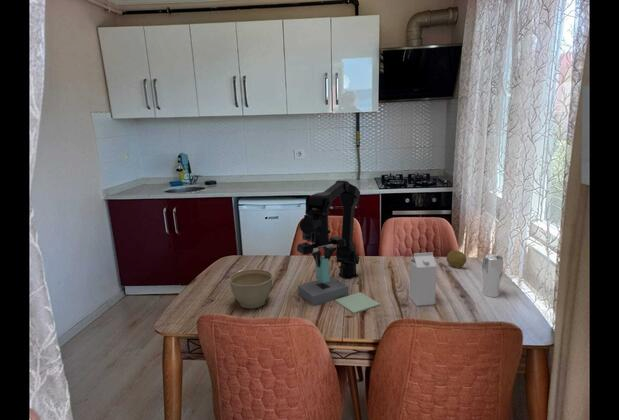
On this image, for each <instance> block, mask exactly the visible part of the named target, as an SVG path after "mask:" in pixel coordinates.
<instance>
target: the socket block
mask: <svg viewBox="0 0 619 420" xmlns="http://www.w3.org/2000/svg"><path fill="white" fill-rule="evenodd" d="M329 279H330V281H329V282H325V283H322V282H320V281H319V280H317V279H316V280H313V281H309V282H305V283H302V284H298V285H297V292H298V293H297V295H298V296H300V297H301V298H302V299H303V300H304V301H306V302H308V303H309V305H311V306H312V307H315V306H320V305H323V304H327V303H330V302H332V301H335V300H336V299H339V298H343V297H346V296H349V293H350V291H349V285H347V284H346V283H344V282H342V281H340V279H337V278H335V277H333V276H332V275H331V276H329Z"/></svg>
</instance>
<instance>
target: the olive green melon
mask: <svg viewBox="0 0 619 420" xmlns="http://www.w3.org/2000/svg"><path fill="white" fill-rule="evenodd" d="M446 262H447V263H448V264H449V265H450V266H452V267H453V266H454V267H453V268H455V267H459V268H458V269H460V268H462V267H463V266H465V264H466V262H467V257H466V255H465V253H464V252H462V251H460V250H455V249H454V250H450V251H449V252H448V253H447V256H446Z"/></svg>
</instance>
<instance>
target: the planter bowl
mask: <svg viewBox="0 0 619 420" xmlns="http://www.w3.org/2000/svg"><path fill="white" fill-rule="evenodd" d="M239 271H240V270H239ZM273 278H274V277H273V273H272V272H270V271H268V270H264V269H258V268H253V269H245V270H244V271H240V272H238V271H237V272H235V273H233V274H232V275H230V277H229V279H228V280H229V283H230V290H231V292H232V295H233V296H234V298H235V299H236V300H237V302H238V303H239V305H240V307H242V308H245V309H252V310H253V309H257V308H260V307H263V306H264V305H265V304H266V300H267V299H268V297H269V295H270V293H271V291H272V288H273V287H272V286H273Z"/></svg>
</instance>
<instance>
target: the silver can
mask: <svg viewBox="0 0 619 420" xmlns="http://www.w3.org/2000/svg"><path fill="white" fill-rule="evenodd" d="M482 259H483V260H482V278H483V279H482V280H483V287H482V289H481V293H483V294H484V295H483V294H482V295H483V296H485V297H488V296H489V297H488V298H498V297H499V296H500V283H501V279H502V276H503V270H504V257H503V256H502V255H500V254H494V253H493V254H492V253H487V254H484V255H483V258H482Z"/></svg>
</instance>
